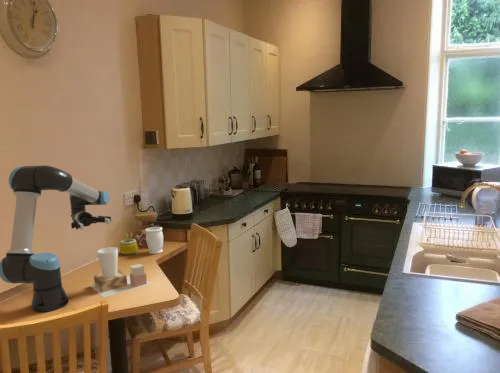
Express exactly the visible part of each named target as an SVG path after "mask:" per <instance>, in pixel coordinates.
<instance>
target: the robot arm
mask: <svg viewBox="0 0 500 373" xmlns="http://www.w3.org/2000/svg"><path fill="white" fill-rule="evenodd" d="M8 185H9V187H10V189H11V191H12V193H13V195H14V196H15V208H14V215H13V223H12V233H11V240H10V242H11V244H10V249H9V250H8V251H6V253H5V257H3V258H2V259H0V278H1V280H2V281H3V282H4V283H11V284H32V287H33V295H32V299H31V303H30V305H31V310H32V311H33V312H37V313H43V312H46V313H47V312H52V311H55V310H58V309H60V308H63V307H64V306H66V305H67V304H68V303H69V297H68V294H67V292H66V291H65V289H64V287H63V282H62V281H63V280H62V274H61V273H62V272H61V264H60V260H59V257H58V256H57V255H56V253H52V252H39V253H35V251H33V239H34V238H33V237H34V229H35V220H36V219H35V218H36V212H37V209H36V208H37V201H38V199H39V198H40V197H41V196H42V191H58V192H60V193H62V192H63V193H64V192H66V193H68V194H69V203H70V213H72V214H71V217H72V219H71V220H72V222H71V223H70V225H71V230H72V229H75V230H79V229H80V230H81V231H84V227H89V226H91V225H92V224H97V223H104V224H106V225H109V226H110V225H111V224H112V223H111V222H112V216H108V215H107V216H105V215H103V216H102V215H97V216H93V215H92V213H89V212H88V211H87V209H86V206H105V205H108V204H109V203H110V199H111V198H110V193H109V192H108V191H106V190H105V191H104V190H101V191H100V190H97V189H96V188H94V187H91V186H90V185H88V184H85V183H84V182H82V181H79V180H77V179H76V178H74V177H73V176H72V175H71V174H70V173H69V172H66V171H65V170H62V169H59V168H58V167H54V166H52V165H44V164H43V165H23V166H18V167H15V168H14V169H13V170H12V171H11V172H10V173H9V176H8ZM71 217H70V218H71Z"/></svg>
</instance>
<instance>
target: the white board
mask: <svg viewBox="0 0 500 373" xmlns="http://www.w3.org/2000/svg"><path fill="white" fill-rule="evenodd" d="M126 277H127V285H126V286H123V287H119V288H116V289H112V290H109V291H105V292H102V291H101V290H100V289H99V288H97V287H96V286H95V284H92V285H90V287H91V288H92V289H93V290H94V291H95V292H96V293H98V294H99V295H100V296H101V297H102V298H103V299H104V298H108V297H111V296H114V295H115V296H116V295H118V294H121V293H124V292H128V291H132V290H135V289H139V288H143V287H146V286H149V285H153V282H151V281H149V280H148V279H147V284H144V285H140V286H137V287H135V286H133V285H132V284H131V283H130V274H129V275H126Z"/></svg>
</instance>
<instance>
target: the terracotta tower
mask: <svg viewBox="0 0 500 373" xmlns="http://www.w3.org/2000/svg"><path fill="white" fill-rule="evenodd" d="M129 269H130V273H129V275H130V283H131V284H132V285H133V286H135V287H137V286H140V285H144V284H147V280H148V279H147V273H146V272H145V266H144V265H143V264H141V263H137V264H133V265H130V266H129Z"/></svg>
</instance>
